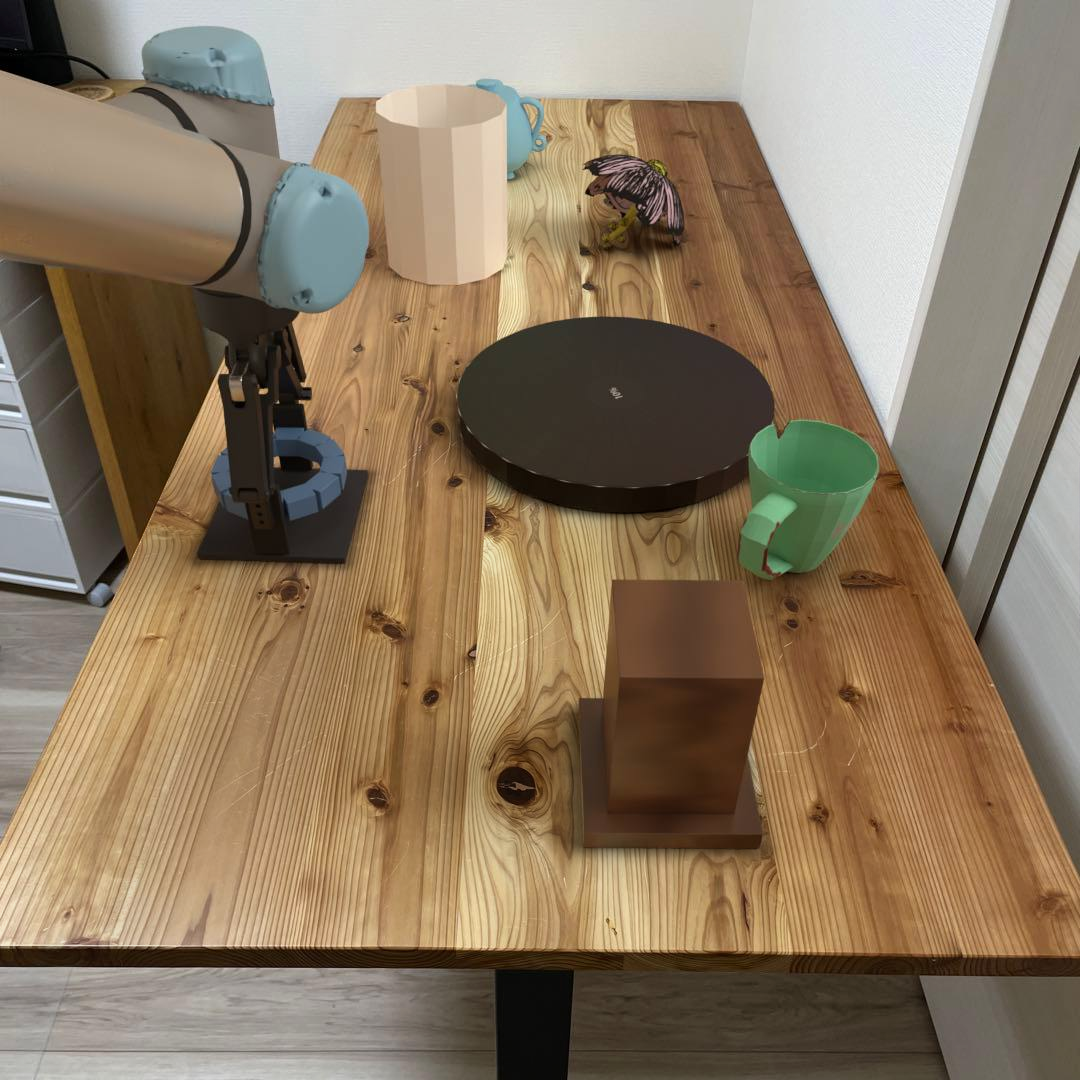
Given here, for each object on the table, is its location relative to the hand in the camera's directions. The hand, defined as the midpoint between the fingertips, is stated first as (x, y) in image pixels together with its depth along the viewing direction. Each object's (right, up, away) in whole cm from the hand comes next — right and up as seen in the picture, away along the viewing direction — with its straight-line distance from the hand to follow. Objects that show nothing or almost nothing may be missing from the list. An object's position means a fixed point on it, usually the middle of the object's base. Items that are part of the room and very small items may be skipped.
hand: (285, 507), depth 91 cm
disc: (+29, +9, +13) cm, 33 cm away
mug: (+41, -5, -4) cm, 42 cm away
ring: (0, +2, -2) cm, 3 cm away
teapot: (+14, +50, +61) cm, 81 cm away
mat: (0, -1, +1) cm, 1 cm away
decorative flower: (+33, +35, +43) cm, 64 cm away
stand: (+30, -18, -20) cm, 40 cm away
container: (+10, +31, +39) cm, 51 cm away
